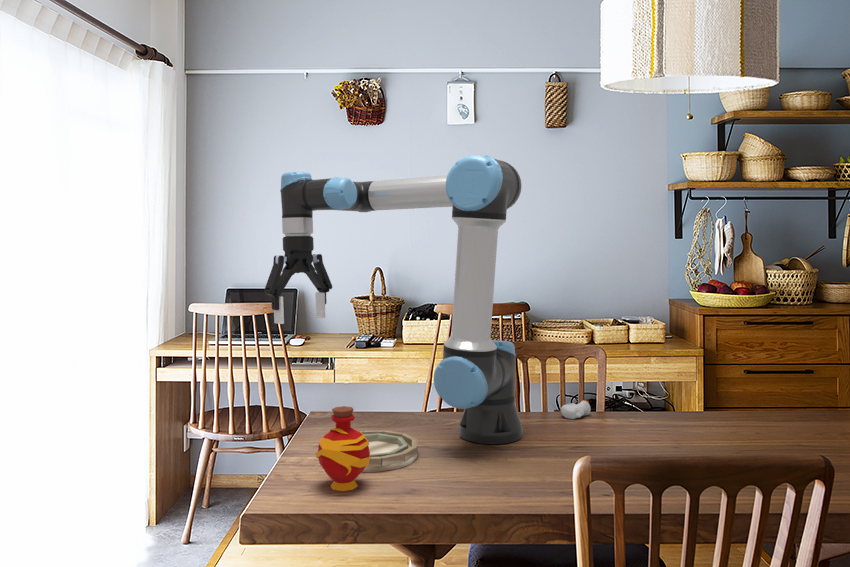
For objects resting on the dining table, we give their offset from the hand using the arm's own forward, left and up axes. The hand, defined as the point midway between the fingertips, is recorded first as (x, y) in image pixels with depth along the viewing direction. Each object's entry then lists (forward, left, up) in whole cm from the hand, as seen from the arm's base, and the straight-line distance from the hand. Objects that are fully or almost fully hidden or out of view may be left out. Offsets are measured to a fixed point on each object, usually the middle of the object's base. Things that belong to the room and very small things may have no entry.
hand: (300, 320), depth 165 cm
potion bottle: (-33, +28, -27) cm, 51 cm away
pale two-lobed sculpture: (-59, -40, -28) cm, 76 cm away
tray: (-28, +11, -27) cm, 40 cm away
